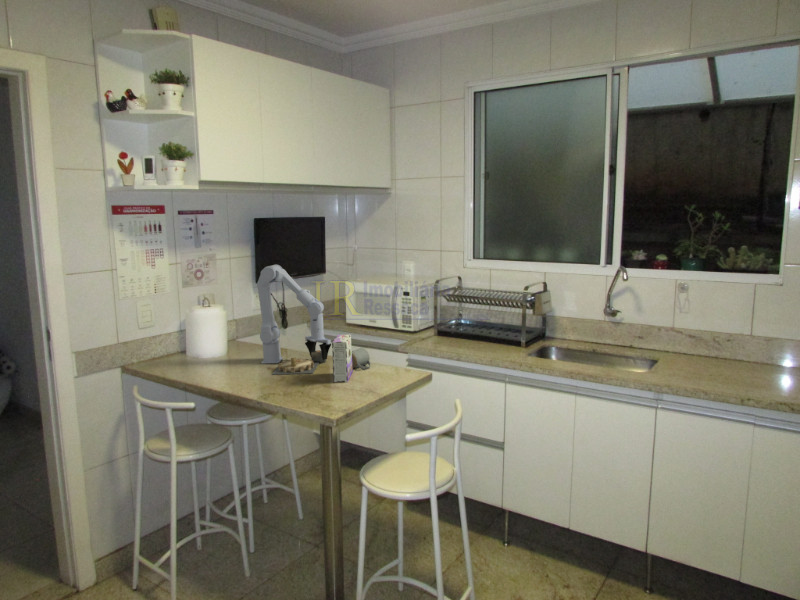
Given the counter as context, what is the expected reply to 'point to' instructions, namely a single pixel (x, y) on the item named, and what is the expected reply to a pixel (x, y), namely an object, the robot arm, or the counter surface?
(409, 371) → the counter surface
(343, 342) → the candy box
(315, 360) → the banded gift box
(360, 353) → the ceramic mug
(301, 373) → the index plate
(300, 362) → the sprocket
